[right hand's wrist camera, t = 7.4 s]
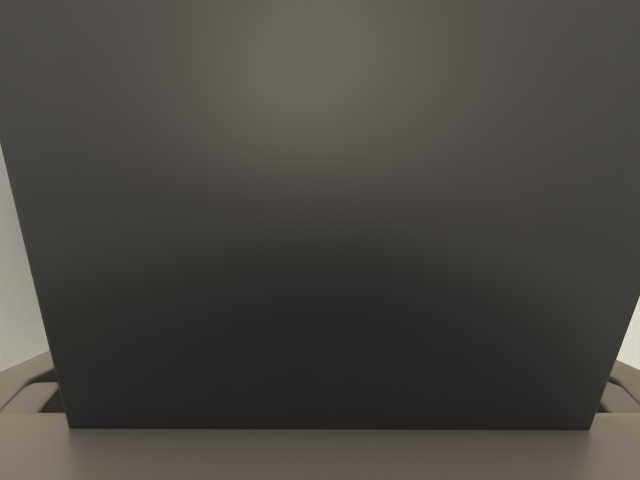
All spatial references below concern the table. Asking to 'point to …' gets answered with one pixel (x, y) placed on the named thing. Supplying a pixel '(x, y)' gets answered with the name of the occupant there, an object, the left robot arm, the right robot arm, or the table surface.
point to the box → (327, 208)
